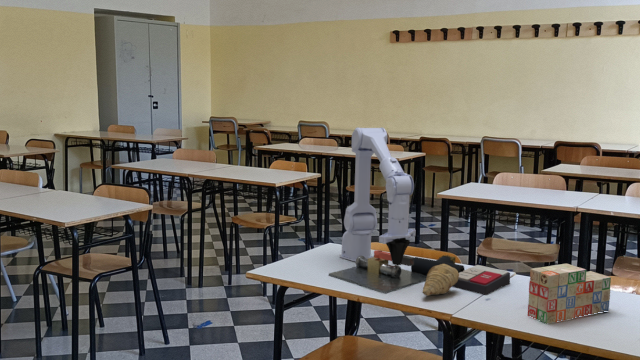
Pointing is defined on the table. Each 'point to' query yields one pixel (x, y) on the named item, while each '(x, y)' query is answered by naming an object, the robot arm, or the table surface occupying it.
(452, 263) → the pipe connector
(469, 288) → the calculator
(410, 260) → the lever
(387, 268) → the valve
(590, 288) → the stack of blocks
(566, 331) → the table surface
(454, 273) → the seashell
